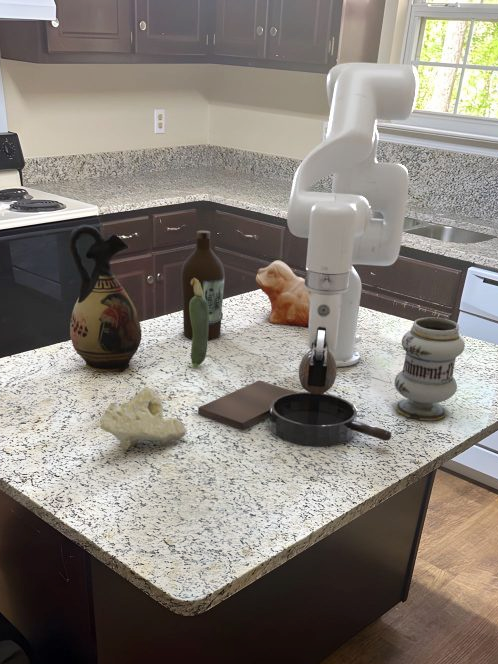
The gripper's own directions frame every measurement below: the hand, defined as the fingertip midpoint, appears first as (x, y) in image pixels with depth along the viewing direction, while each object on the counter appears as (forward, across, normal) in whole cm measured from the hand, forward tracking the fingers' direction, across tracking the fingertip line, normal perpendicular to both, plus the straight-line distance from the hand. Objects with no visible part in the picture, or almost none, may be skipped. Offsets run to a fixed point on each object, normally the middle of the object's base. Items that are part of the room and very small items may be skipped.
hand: (317, 377), depth 133 cm
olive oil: (+11, +50, +31) cm, 60 cm away
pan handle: (+7, -7, -10) cm, 14 cm away
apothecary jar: (+10, +12, -21) cm, 27 cm away
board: (+10, +6, +13) cm, 17 cm away
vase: (+3, 0, 0) cm, 3 cm away
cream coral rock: (+10, -16, +30) cm, 35 cm away
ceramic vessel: (+12, +70, +7) cm, 71 cm away
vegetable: (+11, +26, +27) cm, 39 cm away
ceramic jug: (+11, +22, +48) cm, 54 cm away
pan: (+10, -1, 0) cm, 10 cm away
